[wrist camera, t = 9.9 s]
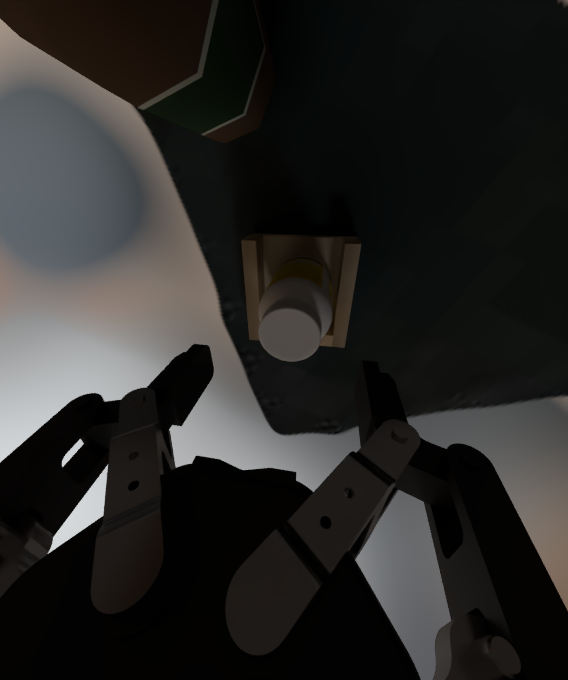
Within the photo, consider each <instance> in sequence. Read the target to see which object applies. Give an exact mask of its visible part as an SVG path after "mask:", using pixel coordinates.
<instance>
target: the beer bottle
mask: <svg viewBox="0 0 568 680" xmlns="http://www.w3.org/2000/svg"><path fill="white" fill-rule="evenodd" d="M0 19H1V20H3V21H4V22H5V23H6V24H7V25H8V26H9V27H10V28H11V29H12V30H13V31H14V32H16V33H17V34H18V35H19V36H20V37H21V38H23V39H25V40H26V41H28V42H29V43H31V44H33V45H34V46H36V47H38V48H39V49H41V50H42V51H44V52H46V53H47V54H49V55H51V56H52V57H54V58H55V59H57V60H59V61H60V62H62V63H64V64H65V65H67V66H68V67H70V68H72V69H73V70H75V71H77V72H78V73H80V74H81V75H83V76H85V77H86V78H88V79H90V80H91V81H93V82H95V83H96V84H98V85H100V86H101V87H103V88H104V89H106V90H108V91H109V92H111V93H113V94H115V95H117V96H118V97H120V98H122V99H124V100H125V101H127V102H129V103H131V104H132V105H134V106H136V107H138V108H140V109H142V110H145V111H147V112H149V113H152V114H154V115H157V116H159V117H161V118H164V119H166V120H168V121H171V122H173V123H175V124H178V125H180V126H182V127H185V128H187V129H190V130H192V131H194V132H197V133H199V134H201V135H204V136H206V137H208V138H211V139H213V140H215V141H218V142H222V143H228V142H230V141H232V140H234V139H236V138H239V137H241V136H243V135H245V134H247V133H249V132H252V131H254V130H256V129H258V128H260V126H261V123H262V120H263V117H264V115H265V112H266V109H267V106H268V103H269V100H270V97H271V94H272V91H273V89H274V86H275V83H276V80H277V75H276V71H275V67H274V62H273V58H272V54H271V49H270V45H269V41H268V36H267V32H266V28H265V23H264V19H263V15H262V11H261V8H260V4H259V1H258V0H0Z"/></svg>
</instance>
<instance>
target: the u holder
mask: <svg viewBox="0 0 568 680" xmlns="http://www.w3.org/2000/svg"><path fill="white" fill-rule="evenodd" d="M241 242H242V254H243V267H244V279H245V291H246V303H247V316H248V328H249V339H251V340H260V339H259V335H258V329H259V324H260V320H259V312H258V310H259V304H260V301H261V298H262V296H263V294H264V292H265V291H266V289H267V287H268V286H269V284H270V282H271V281H272V279H273V277H274V275H275V274H276V272H277V270H278V269H279V268H280V267H281V265H282V264H283V263H285V262H286V261H287V260H289V259H291V258H293V257H297V256H309V257H313V258H315V259H317V260H319V261H320V262H321V263H322V264H324V266H325V267H326V268H327V270H328V272H329V274H330V277H331V282H332V321H331V324H330V327H329V329H328V331H327V333H326V334H325V335H324V336H323V337H322V338H321V341H320V344H319V345H320V346H332V347H343V348H344V347H345V341H346V335H347V329H348V323H349V317H350V311H351V304H352V298H353V292H354V286H355V280H356V274H357V268H358V261H359V255H360V249H361V243H360V241H359V240H358V238H357V237H354V236H321V235H288V234H255V233H252V234H251V235H249V236H247V237H246V238H244V239H242V240H241Z"/></svg>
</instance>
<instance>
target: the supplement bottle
mask: <svg viewBox="0 0 568 680" xmlns="http://www.w3.org/2000/svg"><path fill="white" fill-rule="evenodd" d="M258 312H259V320H260V324H259V329H258V335H259V339H260V342H261V344H262V346H263V347H264V349H265V350H266V351H267V352H268V353H269V354H271V355H272V356H274V357H276V358H278V359H280V360H284V361H299V360H303V359H306V358H308V357H309V356H311V355H312V354H313V353H314V352H315V351H316V350H317V348H318V346H319V344H320V341H321V338H322V337H323V336H324V335H325V334H326V333H327V331H328V329H329V327H330V324H331V321H332V282H331V277H330V274H329V272H328V270H327V268H326V267H325V266H324V264H322V263H321V262H320V261H319V260H317V259H315V258H313V257H309V256H297V257H293V258H291V259H289V260H287V261H286V262H285V263H283V264H282V265H281V267H280V268H279V269H278V270H277V272H276V274H275V275H274V277H273V279H272V281H271V282H270V284H269V286H268V287H267V289H266V291H265V292H264V294H263V296H262V298H261V301H260V304H259V310H258Z"/></svg>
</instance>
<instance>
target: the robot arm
mask: <svg viewBox="0 0 568 680" xmlns="http://www.w3.org/2000/svg"><path fill="white" fill-rule="evenodd" d="M213 373H214V367H213V362H212V357H211V352H210V348H209V346H208V345H199V344H194V345H192V346H191V347H190V348H189V349H188V351H187V352H183V353H182V354H180V355H178V356H176V357H175V358H174V359H173V360H172V361H171V362H170V363H169V365H167V366H166V367H165V369H164V370H163V371H162V372H161V373H160V374H159V375H158V376H157V377H156V378H155V379H154V380H153V381H152V382H151V383H150V385H149V386H148V387H147V388H140V389H136V390H133V391H131V392H129V393H128V394H127V395H125V397H123V398H122V400H115V401H108V402H104V400H103V398H102V396H101V395H99V394H96V393H91V394H86V395H83V396H80V397H78V398H76V399H74V400H72V401H71V402H69V403H68V404H67V405H66V406H65V407H64V408H62V409H61V410H60V411H59V412H58V413H57V414H56V415H54V416H53V417H52V418H51V419H50V420H49V421H48V422H46V423H45V424H44V425H43V426H42V427H41V428H39V429H38V430H37V431H36V432H35V433H34V434H33V435H32V436H30V437H29V438H28V439H27V440H26V441H25V442H23V443H22V444H21V445H20V446H19V447H18V448H16V449H15V450H14V451H13V452H12V453H11V454H10V455H8V456H7V457H6V458H5V459H4V460H3V461H2V462H1V463H0V680H421V679H420V677H419V674H418V672H417V670H416V667H415V665H414V663H413V661H412V659H411V657H410V655H409V653H408V651H407V649H406V648H405V646H404V644H403V642H402V641H401V639H400V637H399V636H398V634H397V632H396V630H395V629H394V627H393V625H392V623H391V622H390V620H389V618H388V617H387V615H386V613H385V611H384V609H383V608H382V606H381V604H380V603H379V601H378V599H377V597H376V595H375V594H374V592H373V590H372V589H371V587H370V585H369V583H368V582H367V580H366V578H365V576H364V575H363V573H362V571H361V569H360V568H359V566H358V564H357V563H356V561H355V559H356V558H357V556H358V555H359V553H360V551H361V550H362V548H363V546H364V545H365V544H366V542H367V540H368V538H369V537H370V535H371V533H372V532H373V530H374V528H375V526H376V524H377V523H378V521H379V519H380V518H381V516H382V515H383V513H384V511H385V510H386V508H387V507H388V505H389V503H390V502H391V501H392V499H393V498H394V496H395V494H396V493H397V491H398V490H401V491H403V492H405V493H407V494H409V495H411V496H413V497H416V498H417V499H419V500H421V501H423V502H424V504H425V509H426V513H427V517H428V522H429V526H430V530H431V533H432V534H431V535H432V539H433V543H434V547H435V551H436V556H437V560H438V564H439V569H440V573H441V578H442V582H443V586H444V590H445V595H446V599H447V603H448V608H449V612H450V616H451V622H449V623H448V624H446V625H445V626H443V627H442V628H441V629H440V630H439V631H438V634H437V636H436V640H435V654H436V670H435V675H434V678H433V680H568V611H567V609H566V607H565V605H564V603H563V601H562V599H561V597H560V595H559V593H558V591H557V589H556V587H555V585H554V583H553V582H552V580H551V578H550V576H549V574H548V572H547V570H546V568H545V566H544V564H543V562H542V560H541V558H540V556H539V554H538V552H537V550H536V549H535V546H534V544H533V543H532V541H531V539H530V537H529V535H528V533H527V531H526V529H525V527H524V525H523V523H522V521H521V519H520V517H519V515H518V513H517V511H516V509H515V508H514V505H513V503H512V501H511V500H510V498H509V496H508V494H507V492H506V490H505V488H504V486H503V484H502V482H501V480H500V478H499V476H498V474H497V472H496V470H495V468H494V466H493V465H492V463H491V462H490V460H489V459H488V458H487V457H486V456H485V455H484V454H482V453H481V452H480V451H478V450H476V449H475V448H473V447H471V446H468V445H465V444H452V445H450V446H449V447H448V448H447V449H445V448H442V447H440V446H437V445H434V444H432V443H429V442H427V441H425V440H423V439H422V438H420V436H419V434H418V432H417V431H416V430H415V429H414V428H413V427H412V426H411V425H409V424H408V422H407V418H406V415H405V412H404V409H403V406H402V403H401V400H400V398H399V393H398V391H397V387H396V384H395V381H394V380H393V379H392V378H391V376H390V375H389V374H388V373H380V370H379V367H378V363H377V362H372V361H361V362H360V367H359V371H358V376H357V381H356V388H355V398H356V407H357V416H358V426H359V434H360V444H361V448H360V450H359V451H358V452H356V453H355V452H354V451H353V452H351V453H349V454H348V455H347V456H346V458H344V460H343V461H342V462H341V463H340V464H339V465H338V466H337V467H336V468H335V469H334V471H333V472H332V473H331V474H330V475H329V476H328V477H327V478H326V479H325V480H324V481H323V483H322V484H321V485H320V486H319V487H318V488H317V489H316V490H315V491H314V492H312V491H311V490H310V489H309V488H308V487H306V486H305V485H303V484H302V483H300V482H297V481H296V472H292V471H286V470H280V469H274V468H264V469H253V470H241V469H238V468H236V467H234V466H232V465H230V464H228V463H226V462H224V461H222V460H219V459H214V458H208V457H201V456H196V457H195V459H194V461H193V463H192V464H187V465H183V466H180V467H177V468H176V467H175V462H174V455H173V448H172V442H171V435H170V431H169V429H170V427H171V426H172V425H177V426H182V425H183V423H184V421H185V420H186V418H187V417H188V415H189V414H190V412H191V410H192V409H193V407H194V406H195V404H196V403H197V401H198V399H199V398H200V396H201V395H202V393H203V392H204V390H205V389H206V387H207V385H208V384H209V382H210V381H211V379H212V377H213ZM80 438H81V440H82V441H83V443H84V444H83V446H82V447H81V448H80V449H79V450H78V451H77V452H76V453H75V454H74V456H73V457H72V458H71V459H70V460H69V461H68V462H67V463H66V464H65V466H64V467H63V468H62V460H63V458H64V456H65V454H66V453H67V452H68V451H69V450H70V449H71V448H72V447H73V446H74V444H75V443H77V441H78V440H79V439H80ZM107 465H108V473H107V484H106V494H105V505H104V516H103V517H101V518H100V519H98V520H97V521H95V522H94V523H92V524H91V525H89V526H88V527H87V528H85V529H84V530H82V531H81V532H79V533H78V534H76V535H75V536H74V537H72V538H71V539H69V540H68V541H66V542H65V543H63V544H62V545H60V546H59V547H58V548H56V549H55V550H53V551H52V552H50V553H49V554H47V553H48V552H49V550H50V547H51V545H52V541H53V537H54V535H55V534H56V532H57V531H58V530H59V529H60V527H61V526H62V525H63V523H64V522H65V521H66V519H67V518H68V517H69V515H70V514H71V513H72V511H73V510H74V509H75V507H76V506H77V505H78V503H79V502H80V501H81V499H82V498H83V497H84V495H85V494H86V493H87V491H88V490H89V488H90V487H91V486H92V485H93V483H94V482H95V481H96V479H97V478H98V477H99V475H100V474H101V473H102V471H103V470H104V469H105V467H106V466H107Z"/></svg>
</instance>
